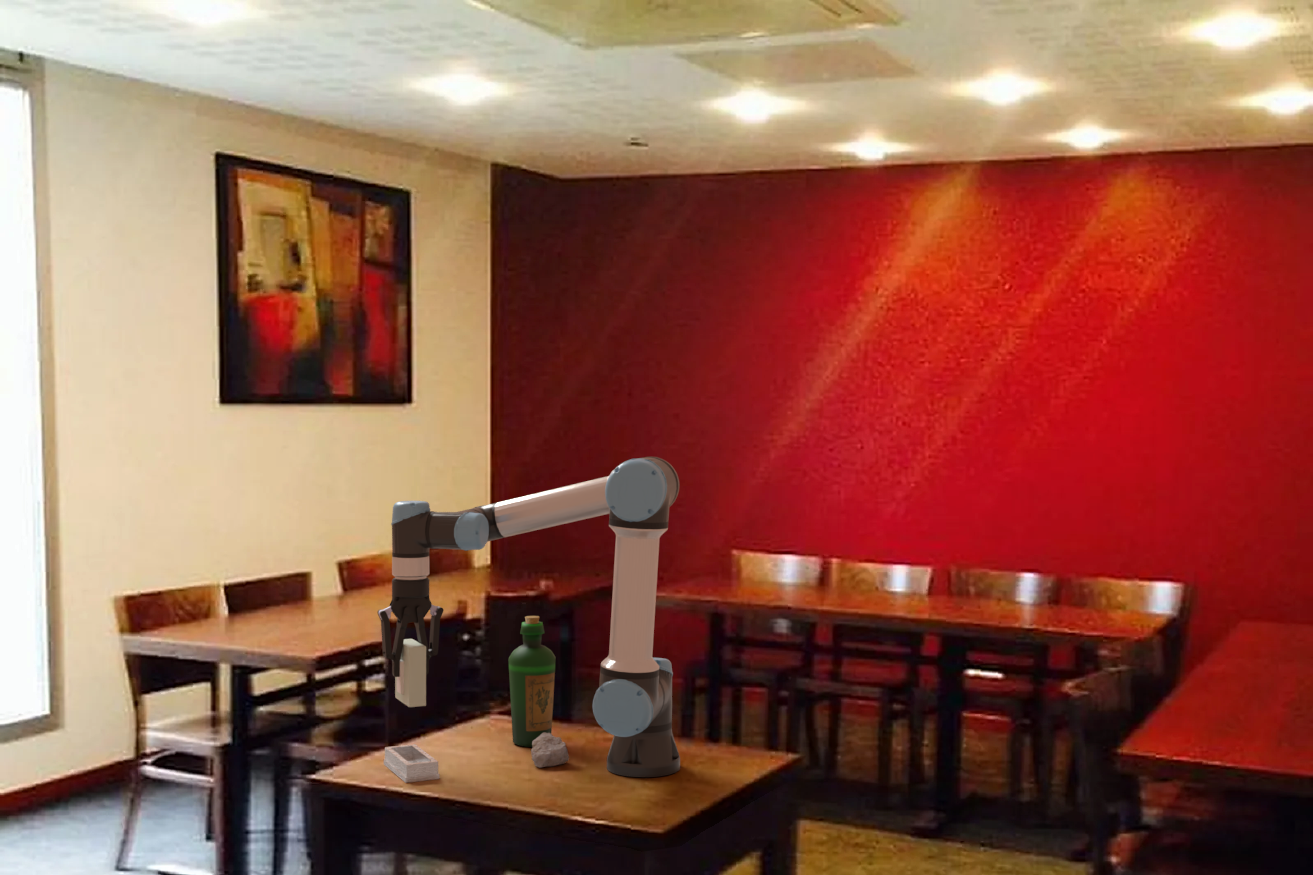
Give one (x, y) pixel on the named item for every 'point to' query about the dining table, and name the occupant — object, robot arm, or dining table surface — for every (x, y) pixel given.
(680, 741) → the dining table surface
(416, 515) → the robot arm
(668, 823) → the dining table surface
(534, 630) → the bottle
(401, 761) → the shallow open box
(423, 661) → the rectangular block
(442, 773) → the dining table surface
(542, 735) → the stone
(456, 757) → the dining table surface
